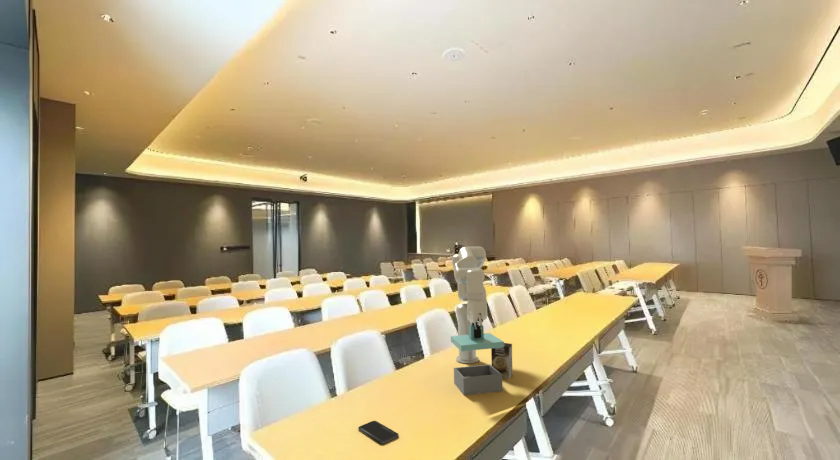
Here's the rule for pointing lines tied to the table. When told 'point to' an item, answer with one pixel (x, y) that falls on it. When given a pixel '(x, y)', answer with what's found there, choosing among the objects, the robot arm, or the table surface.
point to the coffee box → (503, 360)
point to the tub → (478, 379)
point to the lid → (476, 341)
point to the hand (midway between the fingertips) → (476, 336)
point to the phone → (378, 432)
